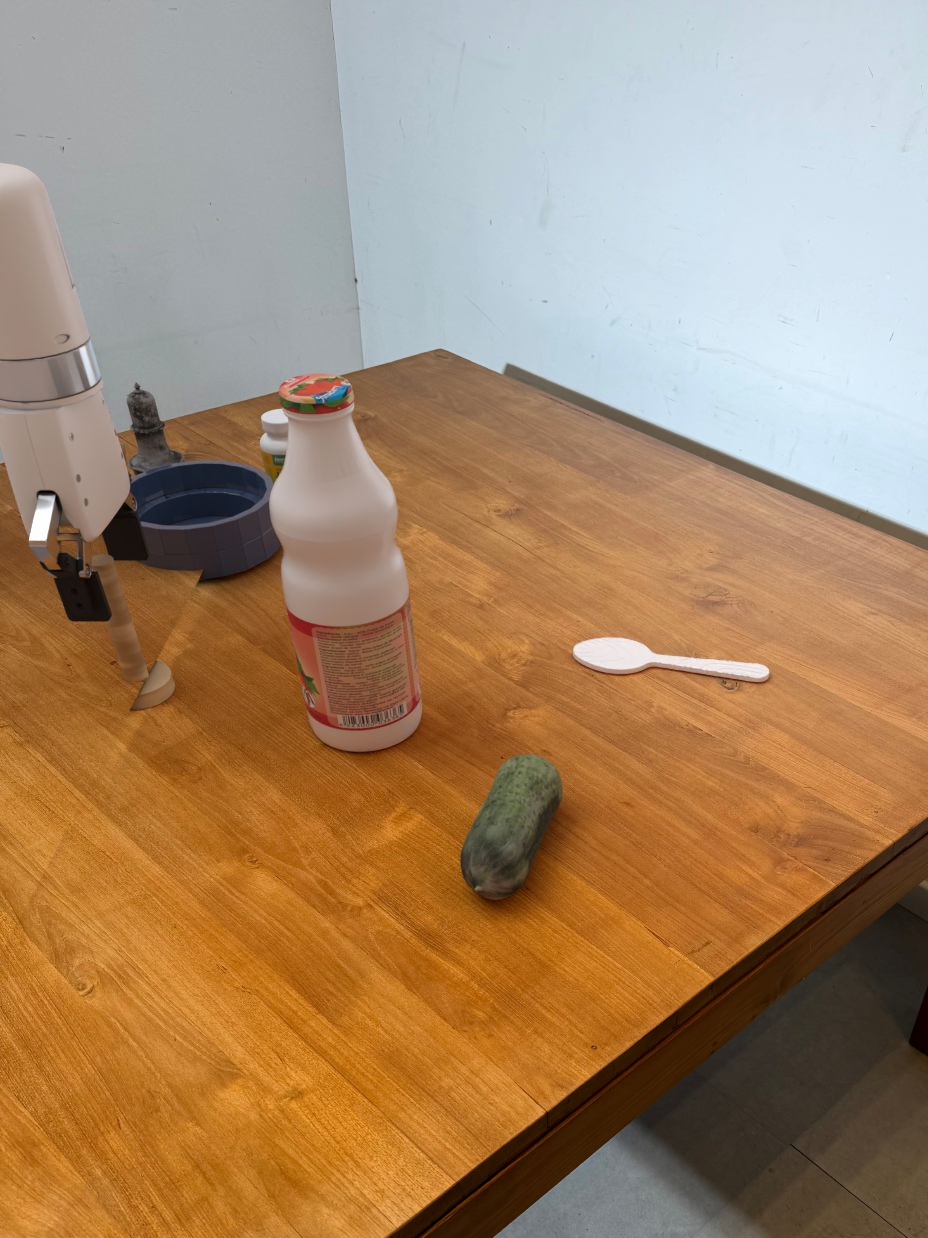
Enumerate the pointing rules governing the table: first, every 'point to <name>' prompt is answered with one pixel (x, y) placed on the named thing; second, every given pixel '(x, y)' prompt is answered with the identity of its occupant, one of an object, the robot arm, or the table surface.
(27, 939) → the table surface
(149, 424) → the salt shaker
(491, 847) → the vegetable
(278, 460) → the supplement bottle
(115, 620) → the wooden masher
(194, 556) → the bowl
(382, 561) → the fruit juice
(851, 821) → the table surface
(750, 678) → the spoon
